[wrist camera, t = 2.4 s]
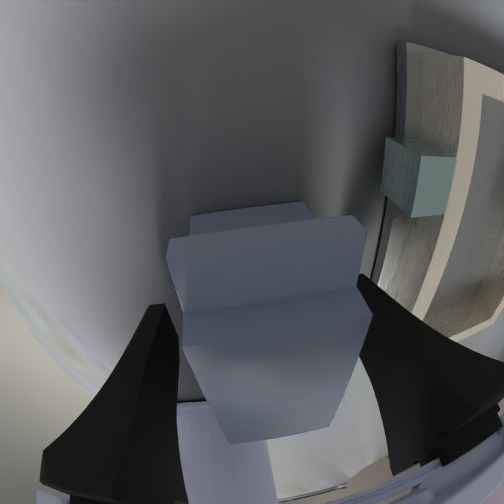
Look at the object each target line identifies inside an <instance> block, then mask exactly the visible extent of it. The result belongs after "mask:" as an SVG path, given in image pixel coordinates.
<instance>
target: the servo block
mask: <svg viewBox="0 0 504 504" xmlns="http://www.w3.org/2000/svg"><path fill="white" fill-rule="evenodd" d="M365 237H366V230H365V229H364V228H363V226H362V225H361V224H360V223H359V222H358V221H357V219H356V218H355V217H354V216H353V215H347V216H339V217H330V218H321V219H315V218H314V216H313V215H312V213H311V212H310V210H309V209H308V207H307V206H306V204H305V203H304V201H300V202H291V203H282V204H274V205H265V206H257V207H249V208H242V209H234V210H227V211H219V212H212V213H205V214H199V215H192V216H191V217H190V227H189V236H186V237H179V238H172V239H169V243H168V249H167V254H166V262H167V265H168V268H169V271H170V275H171V278H172V281H173V284H174V287H175V290H176V293H177V296H178V299H179V302H180V305H181V308H182V311H183V329H182V349H183V351H184V353H185V355H186V358H187V360H188V362H189V364H190V367H191V369H192V371H193V373H194V375H195V377H196V379H197V382H198V384H199V386H200V388H201V390H202V392H203V394H204V396H205V398H206V400H207V402H208V404H209V406H210V408H211V410H212V412H213V414H214V416H215V418H216V420H217V422H218V423H219V425H220V427H221V429H222V431H223V433H224V435H225V436H226V438H227V440H228V442H229V444H237V443H246V442H253V441H260V440H267V439H273V438H279V437H284V436H290V435H295V434H299V433H304V432H309V431H313V430H317V429H321V428H325V427H329V425H330V423H331V421H332V419H333V417H334V415H335V413H336V410H337V408H338V406H339V404H340V401H341V399H342V397H343V394H344V392H345V390H346V387H347V385H348V382H349V380H350V377H351V375H352V372H353V370H354V367H355V365H356V362H357V359H358V357H359V354H360V351H361V349H362V346H363V343H364V340H365V337H366V334H367V331H368V328H369V325H370V322H371V319H372V316H373V314H372V312H371V311H370V309H369V307H368V305H367V303H366V302H365V300H364V298H363V296H362V295H361V293H360V291H359V289H358V288H357V281H358V276H359V271H360V266H361V260H362V255H363V249H364V243H365Z"/></svg>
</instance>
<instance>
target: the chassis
mask: <svg viewBox="0 0 504 504" xmlns="http://www.w3.org/2000/svg"><path fill="white" fill-rule="evenodd" d="M396 45H397V106H396V125H395V137H386V139H385V151H384V162H383V172H382V181H381V189H380V191H381V192H382V193H383V194H385V195H386V196H387V197H388V199H387V206H386V212H385V218H384V224H383V229H382V235H381V240H380V245H379V250H378V255H377V259H376V264H375V268H374V273H373V277H372V281H373V282H374V283H375V284H376V285H377V286H379V287H380V288H381V289H382V290H383V291H385V292H386V293H387V294H388V295H389V296H391V297H392V298H393V299H394V300H396V301H397V302H398V303H399V304H400V305H402V306H403V307H404V308H406V309H407V310H408V311H409V312H411V313H412V314H413V315H415V316H416V317H417V318H419V319H420V320H422V321H423V322H424V323H426V324H427V325H429V326H430V327H432V328H433V329H435V330H436V331H438V332H440V333H441V334H443V335H444V336H446V337H448V338H449V339H451V340H453V341H455V342H457V341H460V340H462V339H464V338H466V337H468V336H470V335H473V334H475V333H477V332H479V331H481V330H483V329H485V328H487V327H489V326H491V325H493V323H494V322H495V320H496V319H497V317H498V315H499V314H500V312H501V310H502V309H503V307H504V74H502V73H500V72H498V71H496V70H493V69H491V68H489V67H487V66H485V65H483V64H480V63H478V62H476V61H473V60H471V59H468V58H466V57H462V56H455V55H450V54H447V53H444V52H441V51H438V50H435V49H432V48H428V47H425V46H421V45H418V44H414V43H410V42H396Z"/></svg>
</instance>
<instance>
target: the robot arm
mask: <svg viewBox="0 0 504 504" xmlns="http://www.w3.org/2000/svg"><path fill="white" fill-rule="evenodd" d="M357 288H358V289H359V291H360V293H361V295H362V296H363V298H364V300H365V302H366V303H367V305H368V307H369V309H370V311H371V312H372V314H373V316H372V319H371V322H370V325H369V328H368V331H367V334H366V337H365V340H364V343H363V346H362V349H361V351H360V354H359V357H360V359H361V361H362V363H363V365H364V367H365V370H366V372H367V374H368V376H369V378H370V381H371V384H372V386H373V389H374V392H375V396H376V399H377V402H378V406H379V410H380V414H381V417H382V421H383V426H384V431H385V435H386V440H387V447H388V453H389V459H390V460H389V461H390V468H391V472H392V475H393V476H395V475H397V474H399V473H402V472H404V471H406V470H408V469H411V468H413V467H415V466H417V465H419V464H420V466H421V467H420V468H418V469H416V470H414V471H411V472H409V473H407V474H405V475H403V476H401V477H398V478H396V479H394V480H391V481H389V482H386V483H384V484H381V485H379V486H376V487H373V488H371V489H368V490H365V491H362V492H360V493H357V494H353V495H350V496H347V497H344V498H341V499H337V500H333V501H330V502H326V503H322V504H374V503H377V502H380V501H382V500H385V499H387V498H390V497H392V496H394V495H396V494H399V493H401V492H403V491H405V490H408V489H410V488H412V487H413V488H412V489H411V492H410V494H408V495H404V496H402V497H399V498H397V499H394V500H392V501H389V502H387V503H385V504H482V503H483V502H484V501H485V500H486V499H487V498H488V497H489V496H490V495H491V494H492V493H493V492H494V491H495V490H496V489H497V488H498V487H499V486H500V485H501V484H502V483H503V482H504V414H503V415H501V416H500V417H499V416H498V414H497V412H499V411H500V407H499V405H498V402H500V401H501V400H502V399H503V398H504V362H501V361H498V360H495V359H492V358H489V357H487V356H484V355H482V354H480V353H477V352H475V351H473V350H471V349H468V348H466V347H464V346H462V345H461V344H459V343H457V342H455V341H453V340H451V339H449V338H448V337H446V336H444V335H443V334H441V333H440V332H438V331H436V330H435V329H433V328H432V327H430V326H429V325H427V324H426V323H424V322H423V321H422V320H420V319H419V318H417V317H416V316H415V315H413V314H412V313H411V312H409V311H408V310H407V309H406V308H404V307H403V306H402V305H400V304H399V303H398V302H397V301H396V300H394V299H393V298H392V297H391V296H389V295H388V294H387V293H386V292H385V291H383V290H382V289H381V288H380V287H379V286H377V285H376V284H375V283H374V282H373V281H371V280H370V279H369V278H368V277H366V276H365V275H364V274H359V276H358V281H357ZM179 363H180V359H179V337H178V335H177V333H176V330H175V328H174V325H173V323H172V320H171V318H170V315H169V313H168V310H167V308H166V305H165V303H164V304H155V305H149V307H148V308H147V310H146V312H145V314H144V316H143V318H142V320H141V322H140V324H139V326H138V327H137V329H136V331H135V333H134V335H133V337H132V339H131V340H130V342H129V344H128V346H127V348H126V350H125V351H124V353H123V355H122V357H121V358H120V360H119V361H118V363H117V365H116V366H115V368H114V370H113V371H112V373H111V375H110V376H109V378H108V379H107V381H106V382H105V384H104V385H103V386H102V388H101V389H100V391H99V392H98V393H97V395H96V396H95V397H94V399H93V400H92V401H91V402H90V404H89V405H88V406H87V408H86V409H85V410H84V411H83V412H82V413H81V414H80V416H79V417H78V418H77V419H76V420H75V421H74V422H73V423H72V424H71V425H70V426H69V428H68V429H67V430H65V432H63V433H62V434H61V435H60V436H59V437H58V438H57V439H56V440H55V441H53V442H52V443H51V444H50V445H49V446H48V447H47V448H46V449H44V450H43V455H42V462H41V471H40V482H41V483H42V484H44V485H46V486H48V487H50V488H53V489H56V490H58V491H61V492H64V493H66V494H69V495H70V500H67V499H64V498H60V497H57V496H54V495H51V494H48V493H45V492H42V491H39V490H38V491H37V504H278V499H277V494H276V489H275V484H274V478H273V473H272V468H271V462H270V457H269V452H268V446H267V441H266V440H260V441H253V442H246V443H237V444H229V442H228V440H227V438H226V436H225V435H224V433H223V431H222V429H221V427H220V425H219V423H218V422H217V420H216V418H215V416H214V414H213V412H212V410H211V408H210V406H209V404H208V402H207V401H202V402H188V403H177V395H178V379H179Z"/></svg>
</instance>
